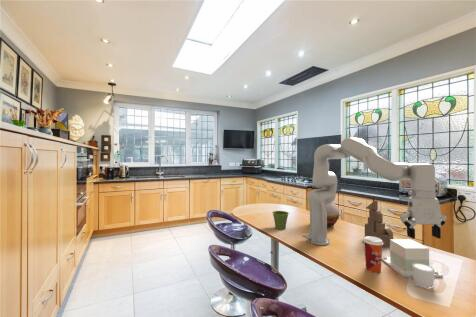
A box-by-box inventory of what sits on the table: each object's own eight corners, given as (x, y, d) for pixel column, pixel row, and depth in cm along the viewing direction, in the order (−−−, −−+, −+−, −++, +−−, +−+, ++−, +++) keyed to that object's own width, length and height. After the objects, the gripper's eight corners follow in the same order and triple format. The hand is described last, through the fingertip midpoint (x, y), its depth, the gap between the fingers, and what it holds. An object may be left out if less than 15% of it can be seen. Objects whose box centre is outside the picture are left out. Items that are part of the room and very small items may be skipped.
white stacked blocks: (403, 277, 90) (403, 251, 90) (380, 258, 106) (379, 237, 106) (442, 277, 89) (442, 251, 89) (413, 259, 105) (412, 237, 105)
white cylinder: (407, 279, 88) (407, 263, 88) (422, 278, 89) (422, 262, 89) (423, 290, 81) (423, 272, 81) (439, 289, 82) (439, 271, 82)
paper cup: (376, 275, 91) (376, 243, 91) (359, 267, 98) (359, 237, 98) (387, 271, 94) (387, 240, 94) (370, 263, 101) (370, 234, 101)
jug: (307, 225, 160) (306, 185, 159) (318, 220, 172) (318, 183, 171) (333, 231, 145) (332, 187, 145) (343, 225, 157) (343, 185, 157)
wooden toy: (394, 246, 121) (393, 202, 121) (385, 247, 119) (385, 203, 119) (370, 236, 136) (370, 197, 136) (362, 237, 134) (361, 198, 134)
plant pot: (285, 232, 146) (285, 215, 145) (269, 229, 152) (269, 213, 152) (291, 227, 156) (291, 211, 156) (276, 224, 162) (275, 209, 162)
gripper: (407, 196, 81) (408, 241, 81) (454, 195, 80) (455, 240, 80) (393, 193, 89) (394, 234, 89) (436, 192, 88) (437, 233, 88)
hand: (423, 237), depth 85 cm, fingers open, 9 cm apart
